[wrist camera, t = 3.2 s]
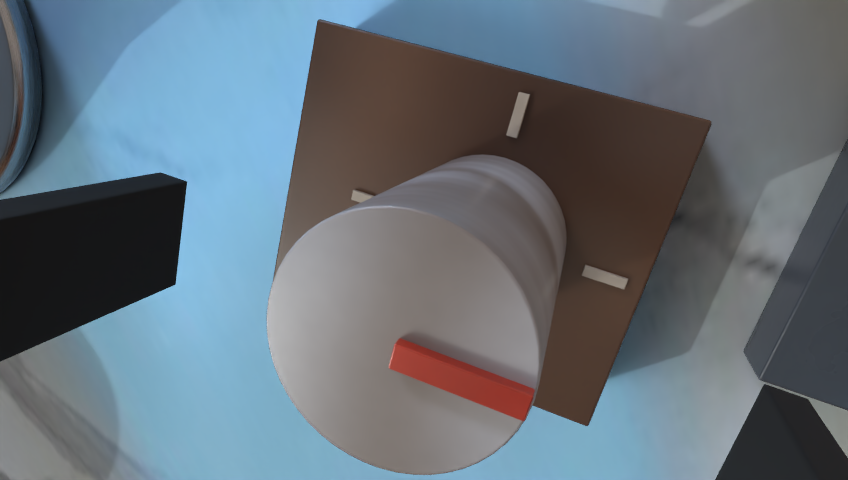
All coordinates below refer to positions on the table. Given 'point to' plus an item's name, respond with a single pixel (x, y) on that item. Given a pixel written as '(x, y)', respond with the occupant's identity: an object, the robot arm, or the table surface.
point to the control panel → (513, 139)
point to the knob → (422, 315)
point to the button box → (811, 305)
